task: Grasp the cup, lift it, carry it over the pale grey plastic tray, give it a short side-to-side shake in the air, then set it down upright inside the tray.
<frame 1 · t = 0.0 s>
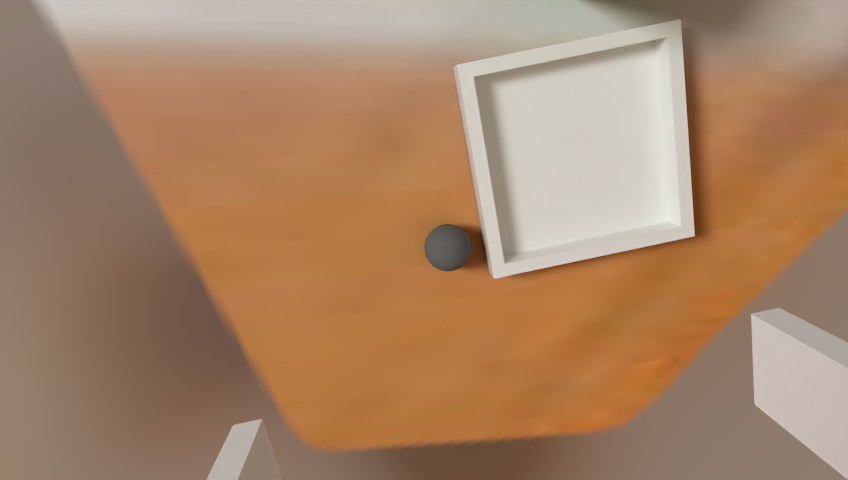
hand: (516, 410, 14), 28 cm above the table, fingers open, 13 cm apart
ball: (445, 241, 41), on the table
tray: (571, 152, 40), on the table
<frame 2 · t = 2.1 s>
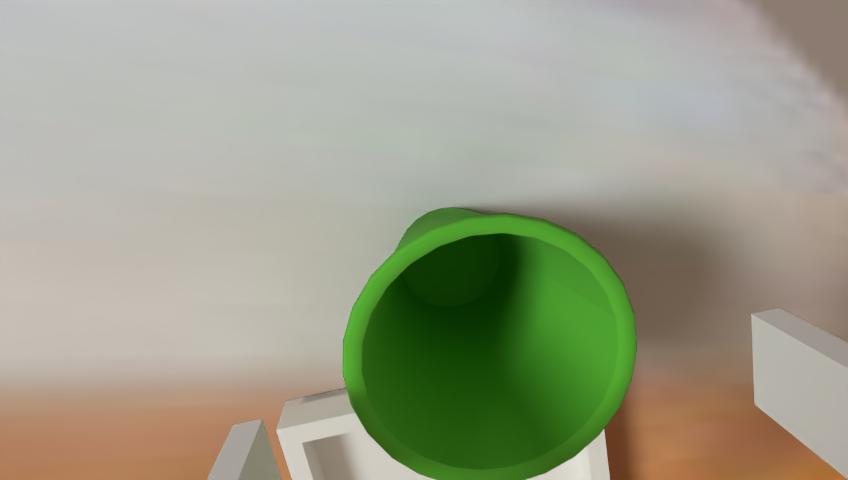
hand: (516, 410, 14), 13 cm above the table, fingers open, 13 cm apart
cup: (448, 255, 26), on the table
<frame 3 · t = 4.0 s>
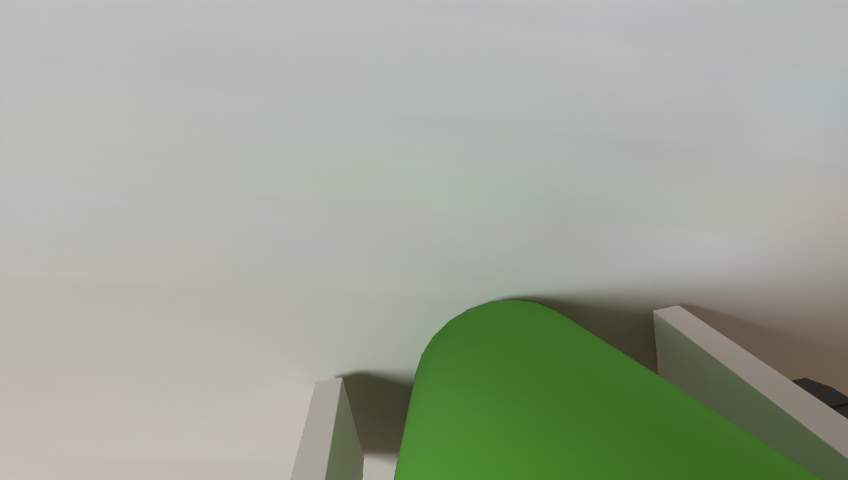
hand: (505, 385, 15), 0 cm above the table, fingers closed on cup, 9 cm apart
cup: (500, 374, 15), on the table, touching gripper
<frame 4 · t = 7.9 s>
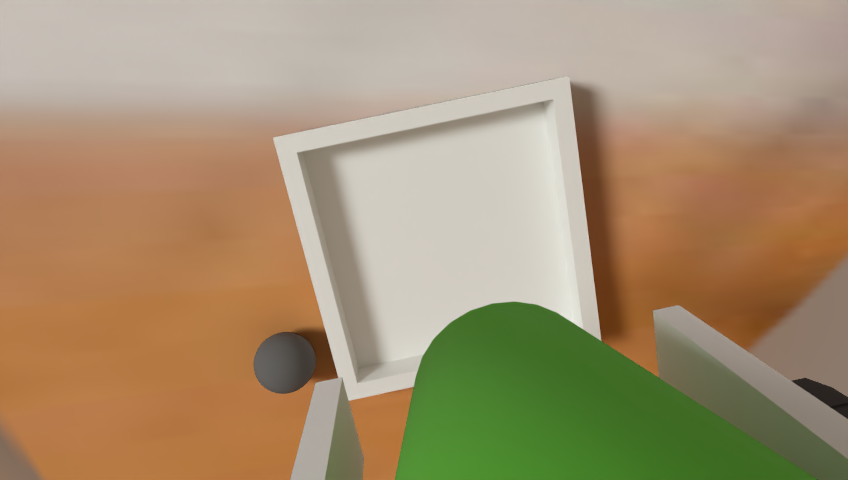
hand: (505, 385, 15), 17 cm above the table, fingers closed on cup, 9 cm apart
cup: (501, 375, 15), point 17 cm above the table, touching gripper
ball: (290, 349, 33), on the table
tray: (444, 238, 32), on the table
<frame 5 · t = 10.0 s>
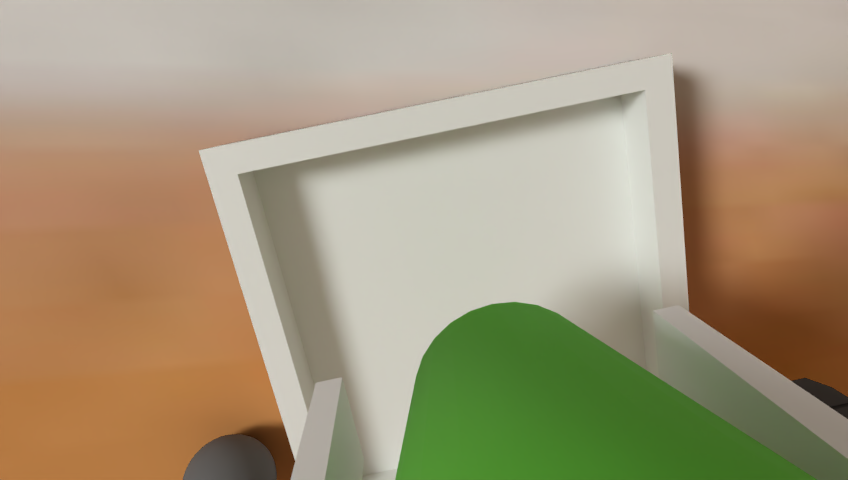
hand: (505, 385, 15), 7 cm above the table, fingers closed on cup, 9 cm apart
cup: (501, 376, 15), point 6 cm above the table, touching gripper
ball: (242, 452, 23), on the table
tray: (467, 296, 22), on the table
when the fingers open (3 cm above the table, at t = 11.7 s): cup drops 2 cm, resting on tray.
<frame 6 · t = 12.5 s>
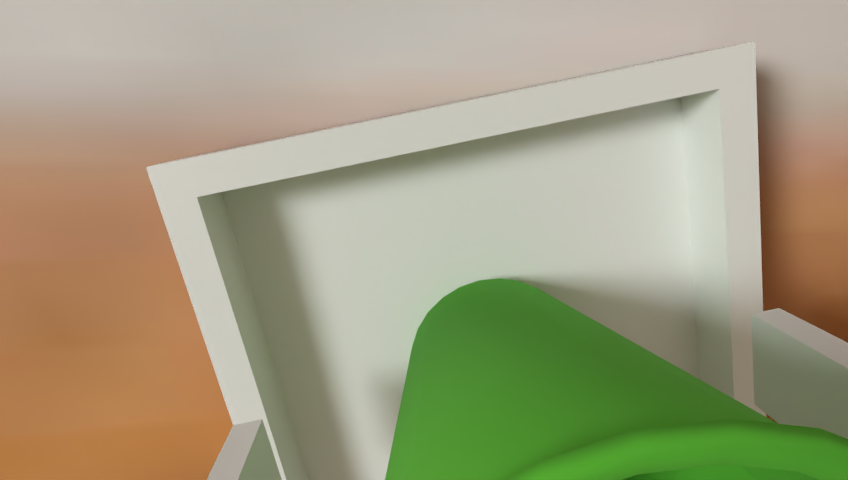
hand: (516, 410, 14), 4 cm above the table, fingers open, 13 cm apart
cup: (488, 346, 17), resting on tray
tray: (486, 340, 18), on the table
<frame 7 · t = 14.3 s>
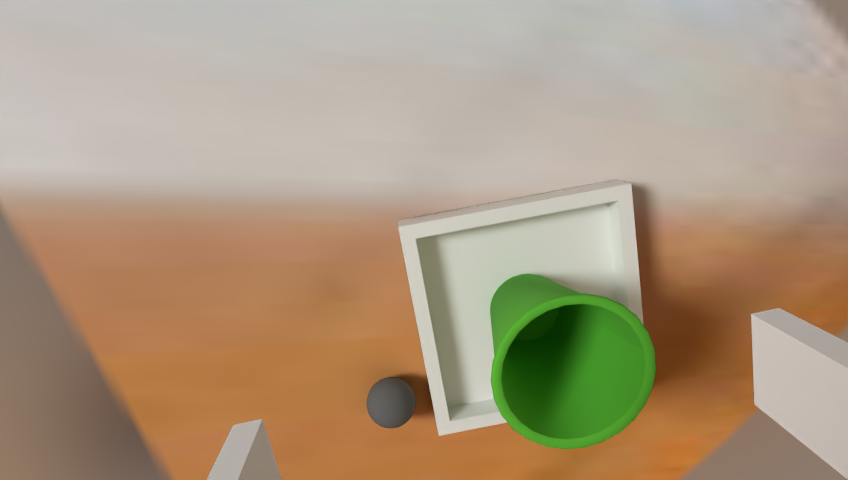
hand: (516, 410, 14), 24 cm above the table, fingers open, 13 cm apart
cup: (523, 305, 38), resting on tray
ball: (391, 390, 40), on the table
tray: (522, 303, 39), on the table
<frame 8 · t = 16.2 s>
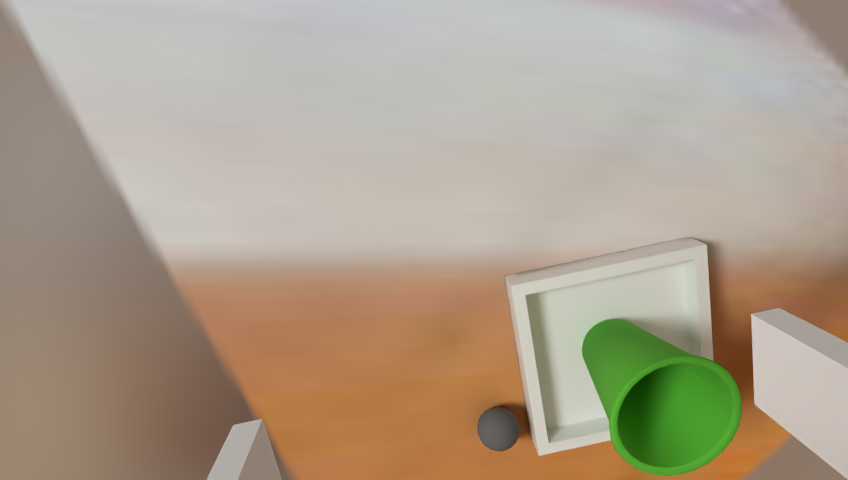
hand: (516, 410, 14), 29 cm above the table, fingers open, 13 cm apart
cup: (608, 343, 45), resting on tray
ball: (494, 416, 46), on the table
tray: (606, 341, 45), on the table
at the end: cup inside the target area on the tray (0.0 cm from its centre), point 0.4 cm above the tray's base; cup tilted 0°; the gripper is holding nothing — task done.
